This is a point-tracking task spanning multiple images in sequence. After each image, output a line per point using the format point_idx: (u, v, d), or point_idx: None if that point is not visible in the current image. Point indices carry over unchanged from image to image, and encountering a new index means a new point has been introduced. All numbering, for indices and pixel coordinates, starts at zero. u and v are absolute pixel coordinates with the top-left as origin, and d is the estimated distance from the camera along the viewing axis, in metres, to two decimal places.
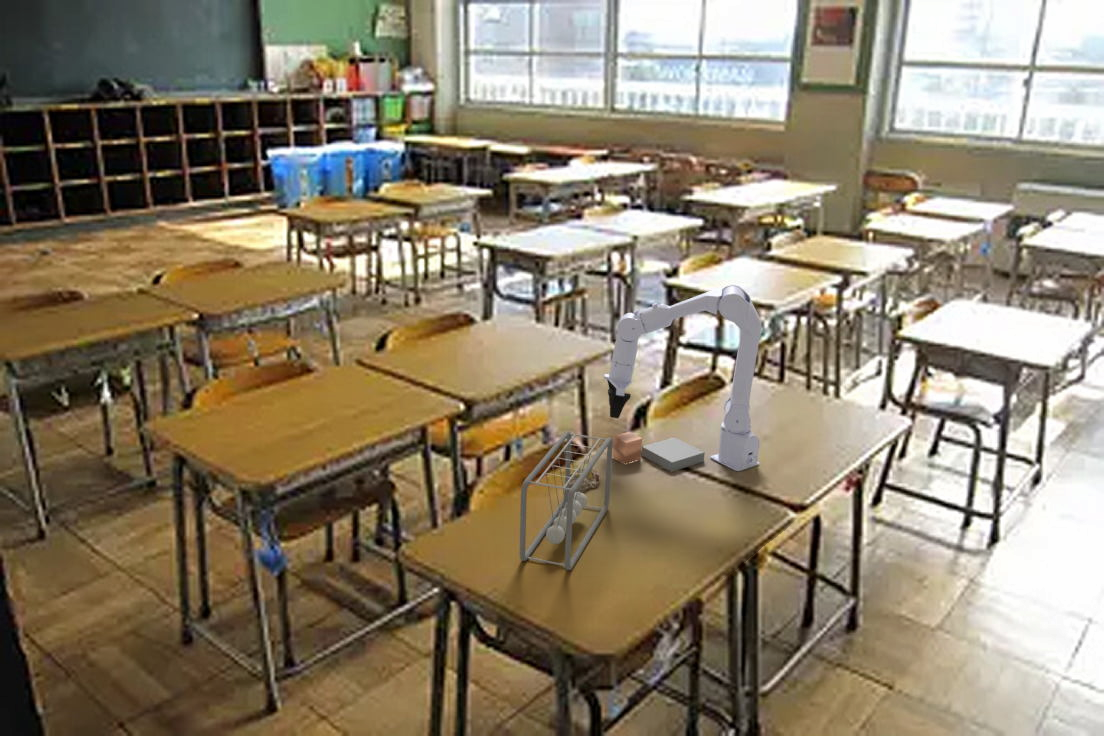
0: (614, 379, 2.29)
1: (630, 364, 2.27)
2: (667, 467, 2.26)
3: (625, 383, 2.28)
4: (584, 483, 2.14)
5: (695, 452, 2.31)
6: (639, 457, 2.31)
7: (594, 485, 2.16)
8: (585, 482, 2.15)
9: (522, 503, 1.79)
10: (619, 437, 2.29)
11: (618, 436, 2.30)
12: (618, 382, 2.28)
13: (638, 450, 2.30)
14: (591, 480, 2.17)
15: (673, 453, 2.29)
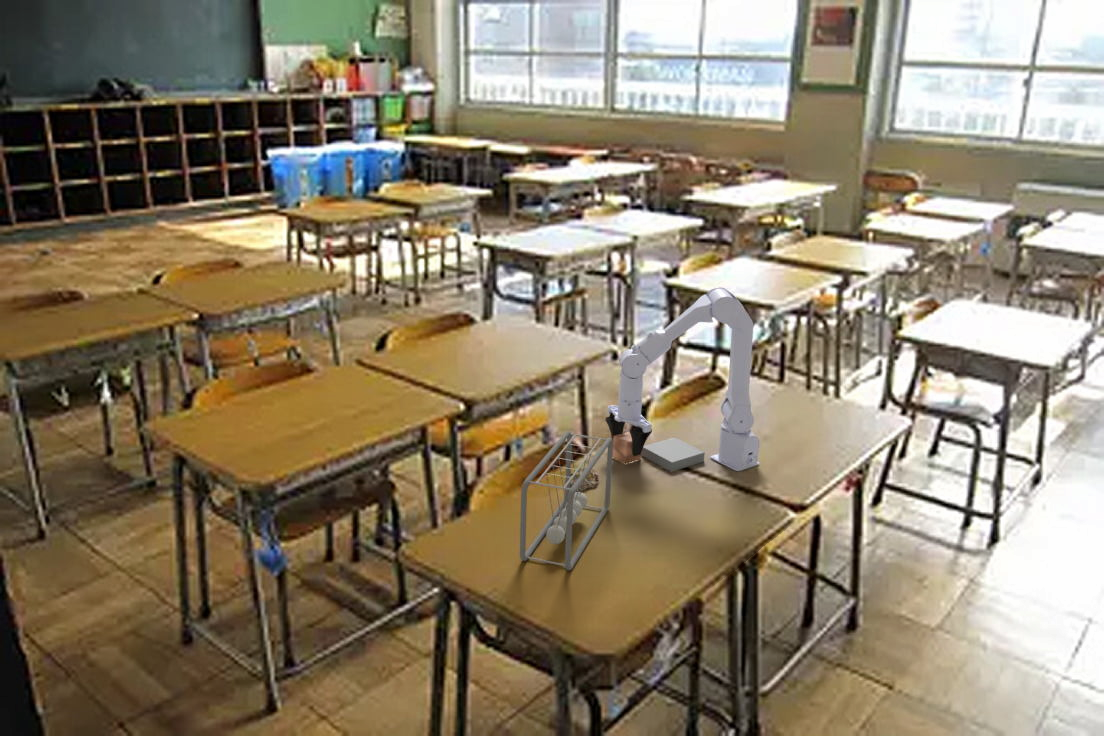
0: (630, 418, 2.25)
1: (639, 400, 2.24)
2: (667, 467, 2.26)
3: (640, 418, 2.26)
4: None
5: (695, 452, 2.31)
6: (639, 457, 2.31)
7: (593, 485, 2.16)
8: (584, 482, 2.15)
9: (522, 502, 1.79)
10: (619, 437, 2.29)
11: (618, 436, 2.30)
12: (635, 420, 2.25)
13: None
14: (590, 480, 2.17)
15: (673, 453, 2.29)
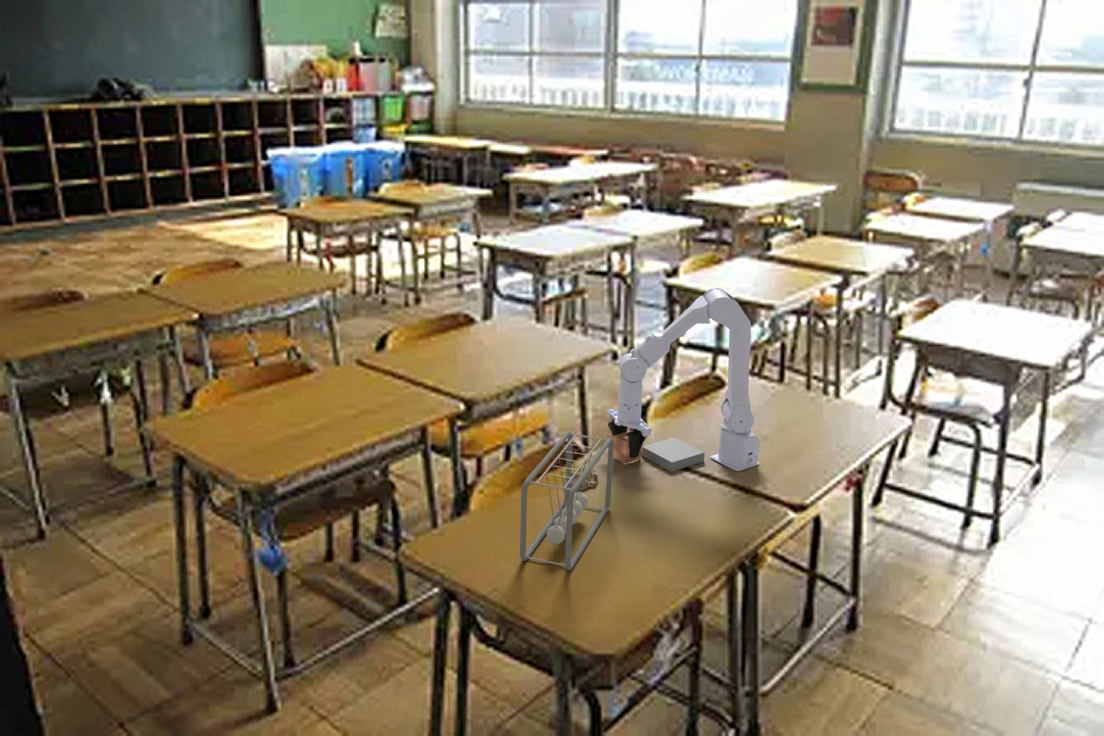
0: (630, 422, 2.25)
1: (638, 404, 2.25)
2: (667, 467, 2.26)
3: (640, 422, 2.27)
4: (582, 483, 2.15)
5: (695, 452, 2.31)
6: (639, 457, 2.31)
7: (592, 485, 2.16)
8: (583, 482, 2.15)
9: (523, 502, 1.79)
10: (619, 437, 2.29)
11: (618, 436, 2.30)
12: (635, 424, 2.26)
13: None
14: (589, 480, 2.17)
15: (673, 453, 2.29)
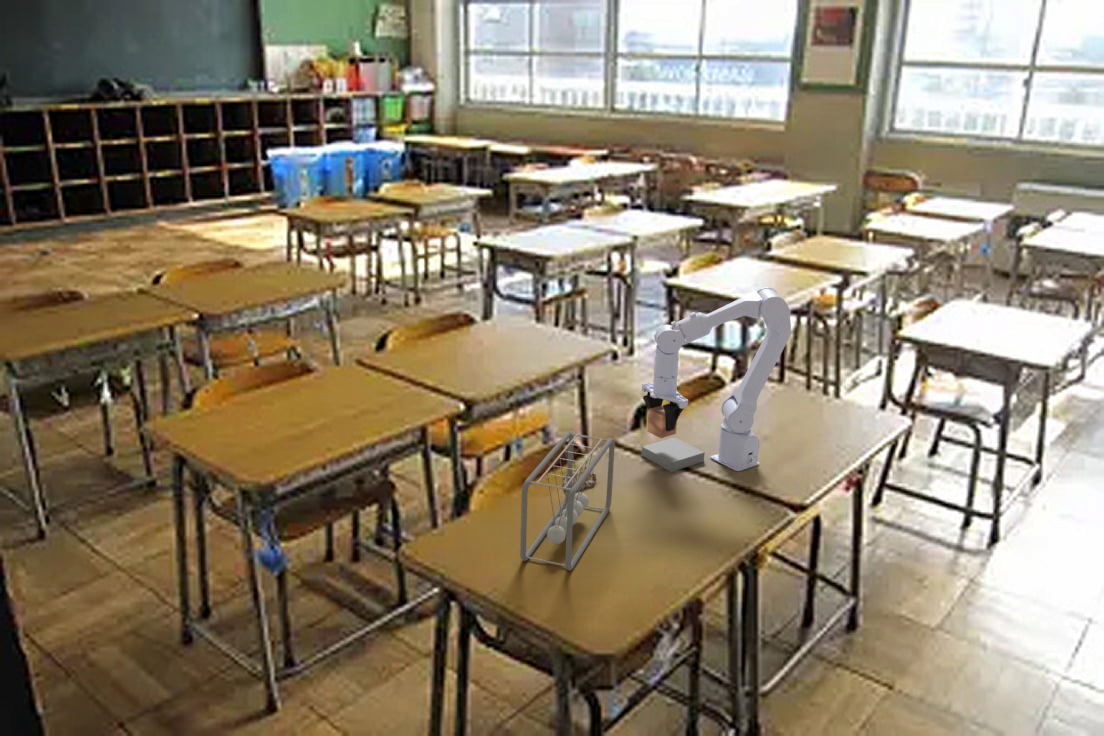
0: (666, 395, 2.24)
1: (674, 376, 2.23)
2: (667, 467, 2.26)
3: (676, 395, 2.25)
4: None
5: (695, 452, 2.31)
6: (674, 430, 2.29)
7: (591, 484, 2.16)
8: None
9: (523, 502, 1.79)
10: (654, 410, 2.28)
11: (653, 409, 2.28)
12: (671, 396, 2.24)
13: None
14: (588, 479, 2.17)
15: (673, 453, 2.29)
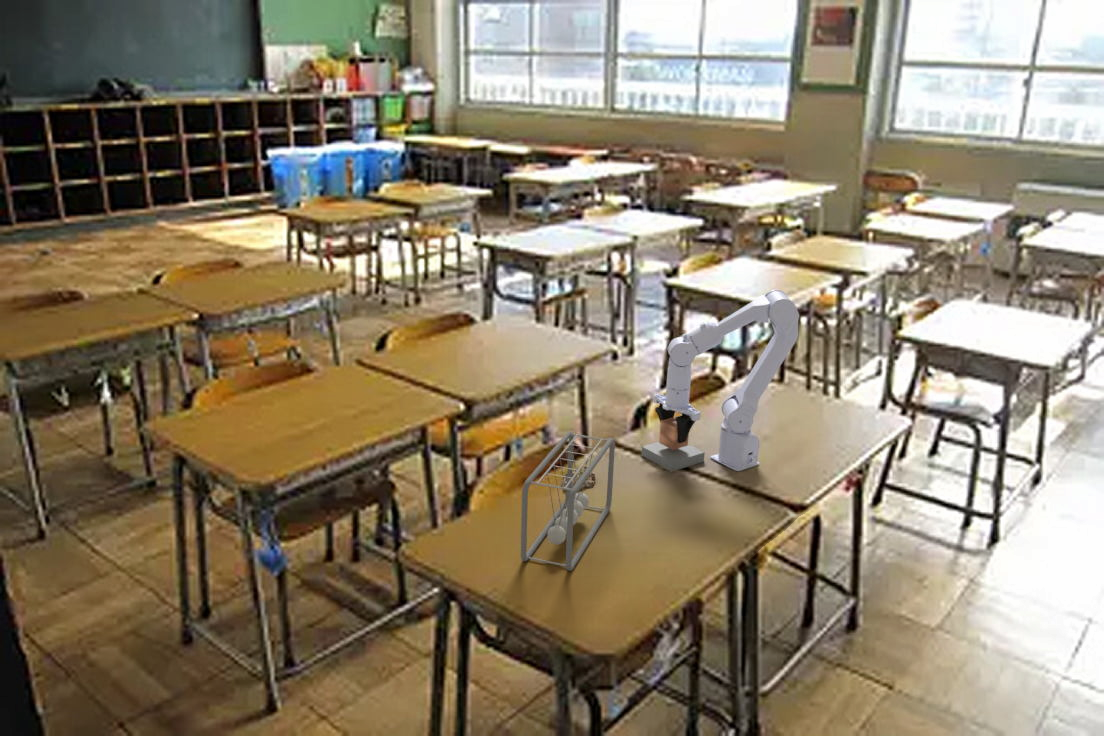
0: (679, 407, 2.25)
1: (687, 388, 2.24)
2: (667, 467, 2.26)
3: (688, 407, 2.27)
4: None
5: (695, 452, 2.31)
6: (686, 442, 2.30)
7: (590, 484, 2.17)
8: None
9: (523, 503, 1.79)
10: (666, 422, 2.29)
11: (665, 421, 2.30)
12: (683, 408, 2.25)
13: None
14: (587, 479, 2.17)
15: (673, 453, 2.29)
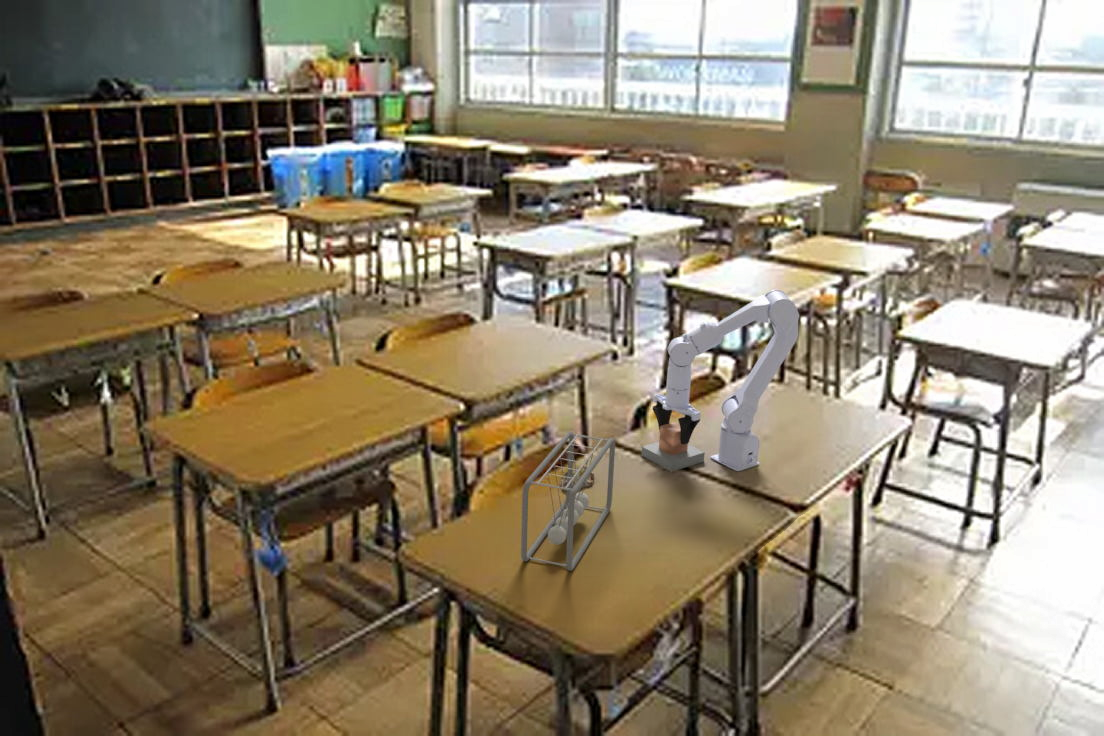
0: (679, 407, 2.25)
1: (687, 388, 2.24)
2: (667, 467, 2.26)
3: (688, 407, 2.27)
4: None
5: (695, 452, 2.31)
6: (686, 447, 2.31)
7: (589, 483, 2.17)
8: None
9: (524, 503, 1.79)
10: (666, 427, 2.30)
11: (665, 426, 2.30)
12: (683, 408, 2.25)
13: None
14: None
15: None
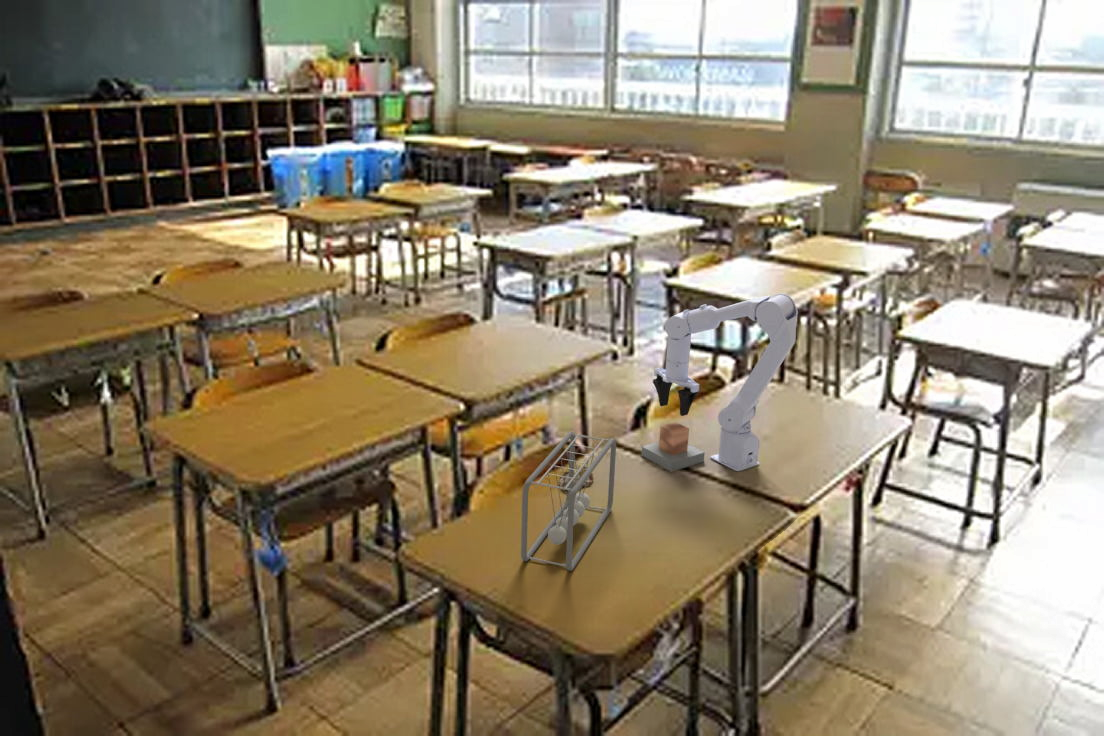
0: (678, 379, 2.33)
1: (681, 362, 2.31)
2: (667, 467, 2.26)
3: (687, 379, 2.34)
4: (577, 481, 2.15)
5: (695, 452, 2.31)
6: (686, 447, 2.31)
7: (587, 483, 2.17)
8: None
9: (524, 503, 1.79)
10: (666, 427, 2.30)
11: (665, 426, 2.30)
12: (683, 380, 2.33)
13: (685, 440, 2.30)
14: None
15: None
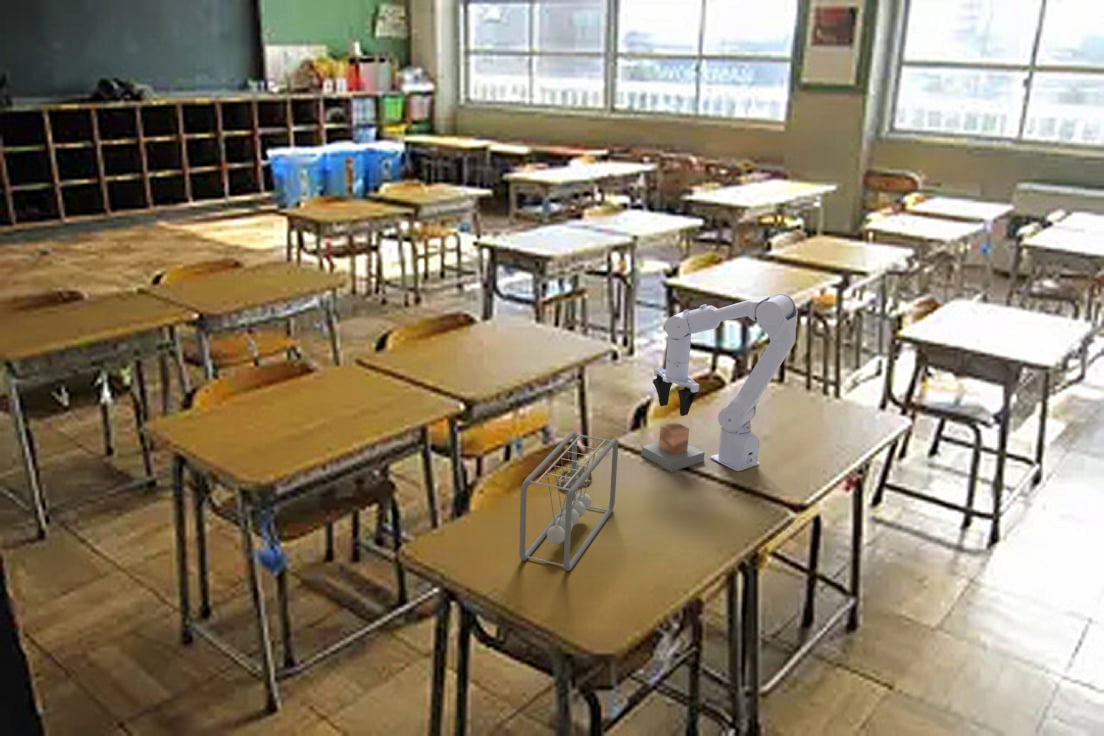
0: (678, 379, 2.33)
1: (681, 362, 2.31)
2: (667, 467, 2.26)
3: (687, 379, 2.34)
4: None
5: (695, 452, 2.31)
6: (686, 447, 2.31)
7: (586, 483, 2.17)
8: None
9: (522, 502, 1.79)
10: (666, 427, 2.30)
11: (665, 426, 2.30)
12: (683, 380, 2.33)
13: (685, 440, 2.30)
14: None
15: None
